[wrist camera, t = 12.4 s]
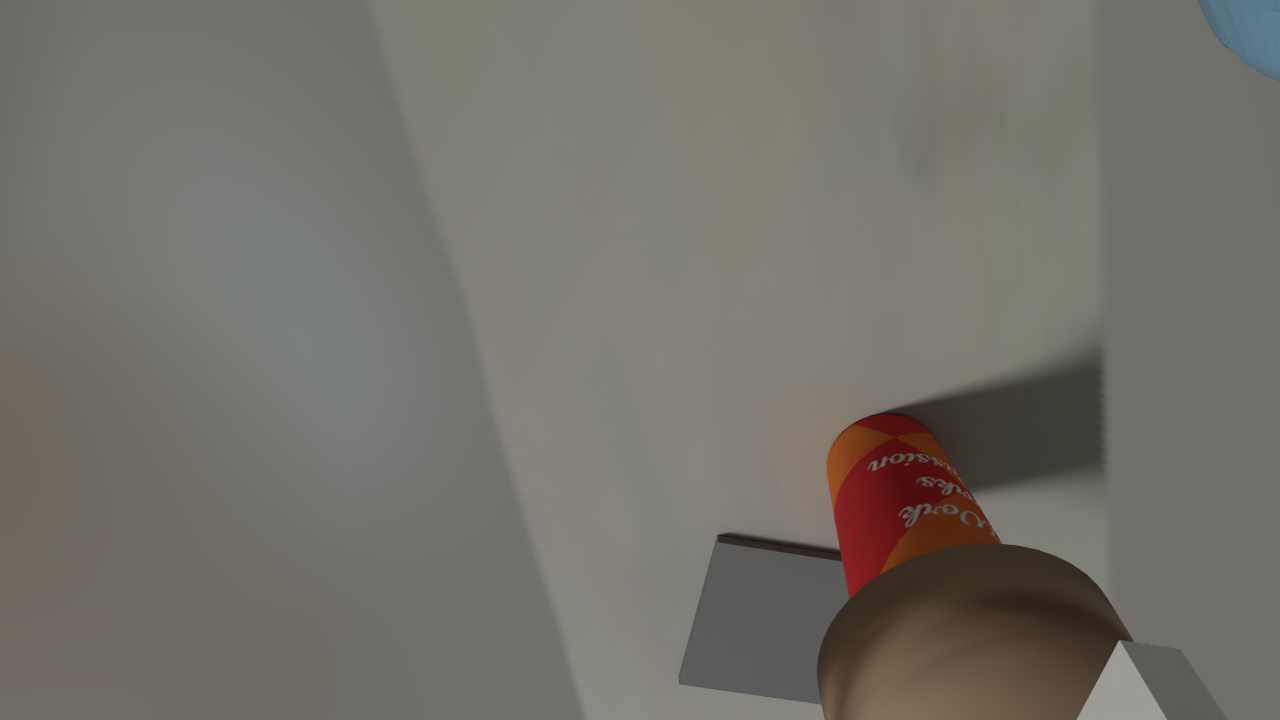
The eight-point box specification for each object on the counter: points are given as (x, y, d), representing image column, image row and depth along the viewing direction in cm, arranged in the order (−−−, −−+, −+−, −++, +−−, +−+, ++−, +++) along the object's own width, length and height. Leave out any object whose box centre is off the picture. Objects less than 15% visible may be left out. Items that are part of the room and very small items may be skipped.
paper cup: (993, 454, 49) (1111, 660, 37) (878, 548, 52) (952, 770, 39) (884, 362, 47) (971, 549, 34) (770, 466, 49) (812, 674, 37)
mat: (717, 535, 51) (718, 542, 51) (903, 564, 52) (905, 571, 52) (678, 676, 56) (679, 684, 55) (850, 700, 57) (852, 708, 56)
